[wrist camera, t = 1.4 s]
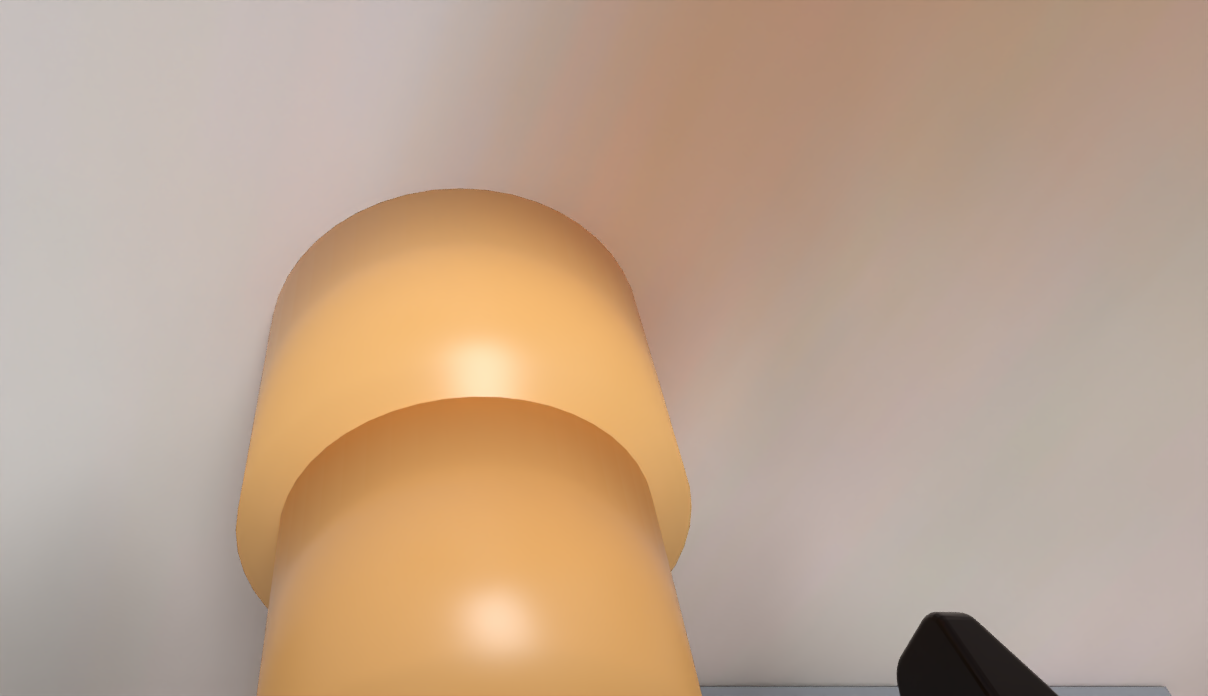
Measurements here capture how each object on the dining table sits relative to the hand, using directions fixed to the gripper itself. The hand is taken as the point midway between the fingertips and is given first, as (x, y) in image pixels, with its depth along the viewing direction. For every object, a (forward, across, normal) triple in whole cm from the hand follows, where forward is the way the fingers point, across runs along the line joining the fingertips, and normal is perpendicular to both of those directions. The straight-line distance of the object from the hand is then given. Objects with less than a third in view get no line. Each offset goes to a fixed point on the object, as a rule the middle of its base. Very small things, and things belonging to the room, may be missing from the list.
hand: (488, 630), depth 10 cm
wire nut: (+4, 0, 0) cm, 4 cm away
